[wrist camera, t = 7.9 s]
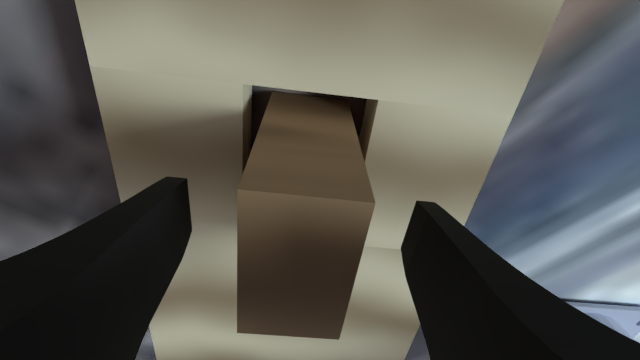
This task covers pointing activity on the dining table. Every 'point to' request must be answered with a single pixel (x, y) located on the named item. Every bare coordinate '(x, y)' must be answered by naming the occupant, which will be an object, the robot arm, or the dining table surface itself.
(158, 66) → the slot board
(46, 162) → the dining table surface
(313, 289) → the walnut flat peg
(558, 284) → the dining table surface
